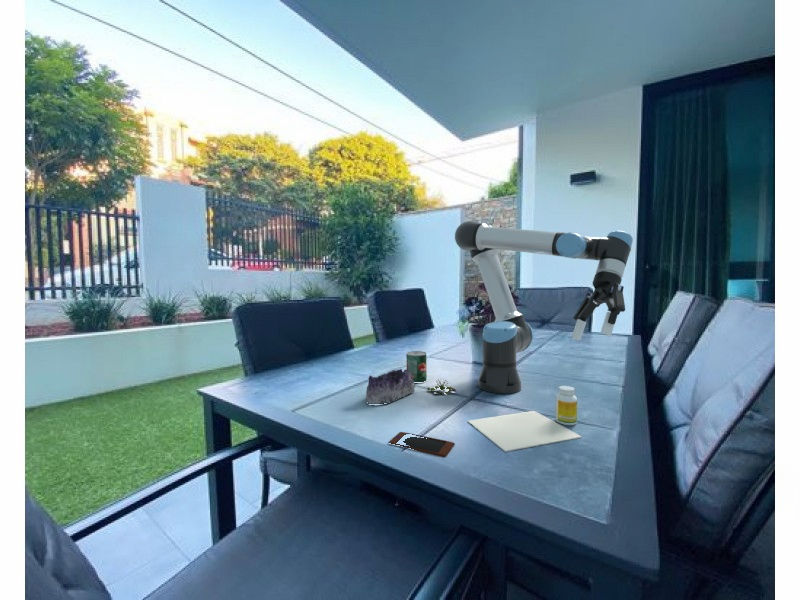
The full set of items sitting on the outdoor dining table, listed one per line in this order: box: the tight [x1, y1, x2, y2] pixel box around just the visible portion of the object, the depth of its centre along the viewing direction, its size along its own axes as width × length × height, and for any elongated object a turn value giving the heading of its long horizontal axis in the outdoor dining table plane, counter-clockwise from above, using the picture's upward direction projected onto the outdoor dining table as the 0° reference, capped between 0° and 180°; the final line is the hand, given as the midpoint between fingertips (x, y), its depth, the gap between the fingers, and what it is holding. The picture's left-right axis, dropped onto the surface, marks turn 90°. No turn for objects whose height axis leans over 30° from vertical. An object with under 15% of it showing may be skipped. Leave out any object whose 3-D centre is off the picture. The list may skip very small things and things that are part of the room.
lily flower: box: [427, 379, 455, 395], centre depth 125 cm, size 12×12×5 cm
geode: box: [365, 368, 416, 405], centre depth 119 cm, size 20×12×10 cm, turn 145°
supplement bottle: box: [555, 385, 578, 426], centre depth 97 cm, size 5×5×10 cm
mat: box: [467, 410, 583, 453], centre depth 93 cm, size 22×18×1 cm
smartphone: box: [387, 431, 456, 458], centre depth 86 cm, size 7×1×15 cm
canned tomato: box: [406, 350, 428, 382], centre depth 138 cm, size 8×8×11 cm
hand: (589, 337), depth 106 cm, fingers open, 13 cm apart
